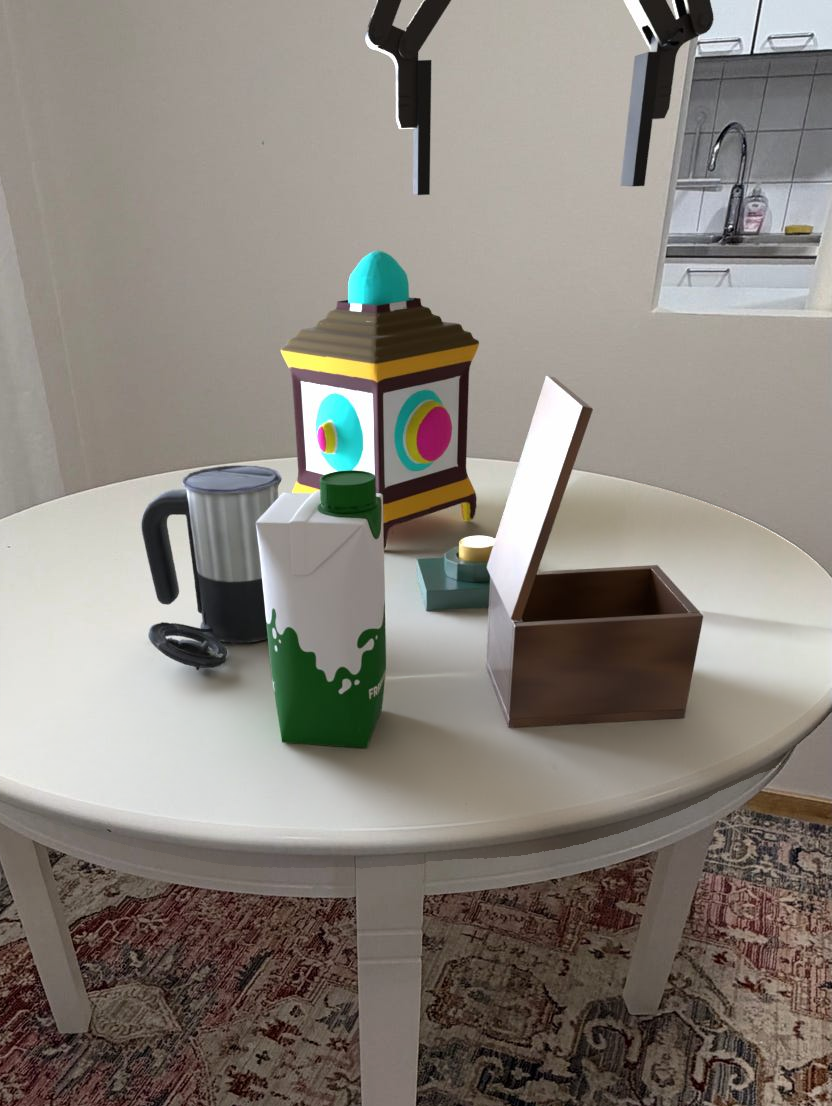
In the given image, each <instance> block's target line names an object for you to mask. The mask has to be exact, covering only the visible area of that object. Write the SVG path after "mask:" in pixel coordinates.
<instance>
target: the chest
mask: <svg viewBox="0 0 832 1106" xmlns="http://www.w3.org/2000/svg"><path fill="white" fill-rule="evenodd" d="M487 615H488V617H487V636H486V659H485V669H486V672H487V674H488V677H489V680H490V682H491V685H492V687H493V690H494V692H495V693H494V694H495V695H496V698H497V701H498V703H499V706H500V708H501V712H502V714H503V716H504V720H505V722H506V724H507V727H508V728H509V729H510V728H528V727H530V728H531V727H546V726H563V725H581V724H583V725H584V724H598V723H599V724H600V723H614V722H615V723H616V722H633V721H650V720H651V721H652V720H668V719H684V718H685V717H686V713H687V706H688V701H689V696H690V691H691V684H692V681H693V675H694V669H695V664H696V658H697V652H698V648H699V644H700V643H699V642H700V637H701V632H702V626H703V621H704V615H703V614H702V613H701V611H700V610H699V609H698V608H697V607H696V606H695V605H694V604H693V602H691V600H690V599H689V598H688V597H687V596H686V594H684V593H683V591H682V590H681V589H680V588H679V587H678V586H677V585H676V584H675V583H674V581H673V580H671V578H670V577H669V576H668V575H667V574H666V572H664V570H663V569H662V568H661V567H660V566H659V565H658V564H649V565H635V566H634V565H632V566H630V565H629V566H614V567H613V566H612V567H596V568H578V569H577V568H576V569H558V570H557V569H556V570H541V571H539V570H538V571H537V574H536V577H535V580H534V583H533V586H532V589H531V591H530V594H529V597H528V600H527V603H526V606H525V609H524V612H523V615H522V618H521V621H515V620H511V619H510V617H509V615H508V612H507V610H506V608H505V606H504V604H503V602H502V600H501V598H500V595H499V593H498V591H497V589H496V587H495V585H494V583H493V581H492V578H491V576H490V592H489V608H488V613H487Z"/></svg>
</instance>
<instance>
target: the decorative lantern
mask: <svg viewBox="0 0 832 1106" xmlns="http://www.w3.org/2000/svg"><path fill="white" fill-rule="evenodd" d="M347 285H348V286H347V288H348V290H347V292H348V293H347V298H348V299H345V300H337V301H336V307H335V309H332V310H329V311H328V312H327V314H326V315H325V318H322V319H320V320H318V321H317V323H316V325H315V326H310V327H305V328H300V329H299V330H297V331H296V335H295V336H292V337H290V338H289V339H287V342H286V344H285V345H283V346H282V347H281V348H280V353H281V355H282V357H283V359H284V362H285V364H286V365H287V367H288V370H289V372H290V376H291V386H292V400H293V415H294V428H295V430H294V432H295V445H296V459H297V477H296V481H295V484H294V487H293V489H292V491H291V493H314V492H315V491H320V478H321V477H322V476H323V475H325V474H328V473H331V472H336V471H345V470H358V471H366V472H370V473H372V474H374V475H375V477H376V493H379V494H382V495H383V538H384V551H385V550H386V547H387V542H388V541H387V540H388V534H389V531H390V530H391V528H393V527H394V526H397V525H400V524H403V523H407V522H409V521H412V520H416V519H418V518H421V517H424V516H428V515H430V514H433V513H436V512H440V511H443V510H445V509H449V508H452V507H455V506H458V505H460V504H461V515H462V519H463V520H464V521H465V522H471V521H473V519H475V516H476V513H477V512H476V511H477V493H476V490H475V488H474V486H473V484H472V482H471V479H470V477H469V475H468V471H467V454H468V453H467V451H468V449H467V448H468V419H469V385H470V369H471V365H472V363H473V360H474V358H475V356H476V354H477V351H478V349H479V346H480V341H479V340H478V339H476V338H474V337H473V334H472V332H470V331H468V330H464V328H463V326H462V324H460V323H459V322H458V323H457V322H448V321H443V320H442V317H441V316H440V315H436V314H434V313H433V312H432V310H431V309H430V307H427V306H425V305H422V301H421V300H422V299H421V298H419V297H410V285H409V277H408V275H407V271H406V270H405V269H404V268H403V267H402V266H401V265H400V263H399V262H398V260H396V259H395V258H394V257H393V256H392V255H390V254H389V253H387V252H386V251H382V250H375V251H372V252H369V253H368V254H367V255H365V256H364V257H362V259H361V260H360V261H359V262H358V264H357V265H356V266H355V268H354V269H353V271H352V272H351V273H350V275H349V279H348V284H347Z"/></svg>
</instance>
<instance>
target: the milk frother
mask: <svg viewBox="0 0 832 1106" xmlns="http://www.w3.org/2000/svg"><path fill="white" fill-rule="evenodd" d="M282 479H283V478H282V477H281V474H280V472H278V471H277V470H276V469H273V468H270V467H265V466H259V465H242V464H241V465H223V466H213V467H207V468H202V469H199V470H196V471H193V472H189V473H188V474H187V475H186V476H185V477H183V478H182V480H181V483H182V486H183V487H184V488H178V489H177V488H176V489H169V490H165V491H163V492H161V493H159V494H158V495H157V496H155V497H154V498H153V499H152V500H151V501H150V502H149V503H148V505H146V508H145V509H144V512H143V514H142V517H141V522H140V523H141V527H140V528H141V535H142V539H143V543H144V548H145V553H146V557H147V562H148V566H149V569H150V574H151V580H152V583H153V587H154V592H155V595H156V599H157V601H158V602H159V603H160V604H161V605H165V606H166V605H168V606H169V605H171V604H172V603H174V602H175V601H176V600H177V598H178V597H179V595H180V586H179V581H178V576H177V575H178V574H177V571H176V566H175V565H176V564H175V560H174V555H173V550H172V546H171V545H172V544H171V540H170V534H169V529H168V518H169V517H170V516H173V515H174V516H175V515H177V516H179V515H180V516H185V518H186V527H187V535H188V543H189V550H190V557H191V566H192V573H193V580H194V590H195V597H196V605H197V612H198V613H199V614H201V622H200V627H196V626H191V625H188V624H183V623H176V622H163V621H161V622H159V623H155V624H153V625H152V626H150V628H149V630H148V634H147V636H148V639H149V641H150V642H151V644H152V646H154V648H156V649H157V650H158V651H159V652H160V653H162V654H163V655H164V656H167V657H168V658H169V659H172V660H173V661H176V662H178V663H180V664H183V665H186V666H190V667H194V668H195V670H196V671H200V669H212V668H213V669H214V668H217V667H220V666H222V665H223V664H225V662H226V660H227V657H228V652H229V651H228V648H227V646H226V645H225V644H223V643H232V644H243V643H245V644H246V643H248V644H249V643H253V642H255V643H256V642H260V641H265V640H268V634H267V624H266V613H265V603H264V593H263V582H262V572H261V561H260V553H259V545H258V537H257V528H256V522H257V520H258V519H259V518H260V517H261V516H262V515H263V514H264V513H265V512H266V511H267V510H268V508H269V507H270V506H271V505H272V504H273V503H274V502H275V501H276V500H277V499H278V498H279V486H280V484H281V482H282ZM175 636H176V637H184V638H187V639H180V640H179V639H175V638H172V637H175ZM166 637H169V638H166ZM221 642H222V643H221Z"/></svg>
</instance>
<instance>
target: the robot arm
mask: <svg viewBox="0 0 832 1106" xmlns="http://www.w3.org/2000/svg"><path fill="white" fill-rule="evenodd" d="M667 1H668V0H623V2H624V4H625V6H626V8H627V10H628V11H629V13H630V15H631V17H632V19H633V20H634V23H635V25H636V26H637V28H638V30H639V32H640V34H641V35H642V38H643V39H644V41H645V43H646V45H647V47H648V48H649V51H647V52H644V53H641V54H637V55H634V59H633V69H632V78H631V87H630V94H629V95H630V96H629V103H628V112H627V113H628V114H627V123H626V131H625V141H624V149H623V159H622V170H621V178H620V187H645V185H646V178H647V177H646V176H647V170H648V169H647V168H648V160H649V154H650V153H649V151H650V143H651V135H652V129H653V128H652V127H653V121H654V120H661V119H663V120H664V119H665V118H666V116H667V114H668V112H669V109H670V105H671V95H672V90H673V82H674V73H675V67H676V59H677V55H678V53H679V50H680V49H681V47H682V46H683V45H684V44H686V43H687V42H689V41H692V40H693V39H695V38H697V37H699V36H702V35H703V34H706V33H707V32H709V31H710V30H711V28H712V26H713V24H714V12H713V7H712V3H711V0H671V2H672V5H673V11H674V13H673V11H672V9H671V8H670V5H669V3H668V2H667ZM451 2H452V0H422V2H421V3H420V5H419V6H418V8H417V9H416V11H415V12H414V14H413V15H412V17H411V19H410V21H409V22H408V24H407V25H406V27H405V29H404V30H403V29H402V28H400V27H397V26H395V25H393V24H394V22H395V19H396V16H397V13H398V11H399V9H400V4H401V3H402V0H376V2H375V5H374V8H373V11H372V13H371V16H370V19H369V21H368V26H367V27H366V30H365V35H364V37H365V38H364V39H365V43H366V45H367V46H368V48H370V49H371V50H374V51H377V52H380V53H382V54H384V55H386V56H388V57H390V58H391V60H392V61H393V63H394V67H395V119H396V124H397V127H398V129H399V130H406V129H407V130H410V129H411V130H412V132H413V135H412V136H413V137H412V139H413V140H412V149H413V150H412V152H413V153H412V194H413V195H415V196H429V195H431V194H430V193H431V192H430V191H431V127H432V126H431V125H432V123H431V121H432V119H431V118H432V116H431V115H432V59H421V60H420V59H419V52H420V50H421V49H422V47H423V45H424V44H425V43H426V41H427V39H428V37H429V36H430V35H431V33H432V31H433V30H434V28H435V26H436V25H437V24H438V22H439V20H440V19H441V17H442V16H443V14H444V12H445V11H446V10H447V8H448V6H449V5H450V3H451ZM674 14H675V15H674Z"/></svg>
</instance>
